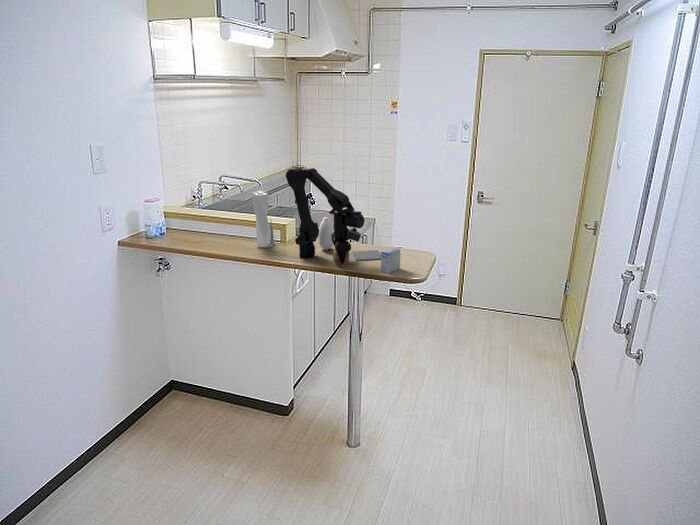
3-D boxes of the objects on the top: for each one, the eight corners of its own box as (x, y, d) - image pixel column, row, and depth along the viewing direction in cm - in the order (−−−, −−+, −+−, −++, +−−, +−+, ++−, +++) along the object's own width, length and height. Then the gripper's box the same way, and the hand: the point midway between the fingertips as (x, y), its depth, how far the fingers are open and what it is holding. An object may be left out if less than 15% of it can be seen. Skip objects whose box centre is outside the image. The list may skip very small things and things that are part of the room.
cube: (335, 266, 213) (334, 253, 211) (333, 261, 219) (333, 248, 217) (349, 265, 214) (348, 252, 212) (347, 261, 220) (346, 248, 218)
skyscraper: (271, 248, 238) (267, 190, 229) (254, 248, 238) (250, 190, 229) (274, 243, 246) (270, 186, 237) (258, 243, 246) (253, 186, 237)
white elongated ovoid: (333, 252, 231) (332, 214, 225) (316, 251, 233) (315, 213, 227) (336, 247, 238) (336, 210, 233) (320, 246, 240) (319, 209, 234)
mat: (356, 260, 219) (356, 259, 219) (352, 252, 231) (352, 251, 230) (383, 259, 221) (383, 258, 221) (377, 251, 232) (377, 249, 232)
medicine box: (391, 266, 212) (391, 246, 209) (400, 268, 209) (400, 248, 207) (380, 271, 206) (380, 251, 204) (389, 273, 204) (389, 253, 201)
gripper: (363, 229, 203) (363, 266, 208) (355, 218, 221) (356, 252, 226) (335, 231, 202) (336, 267, 207) (330, 219, 219) (331, 253, 224)
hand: (341, 260), depth 216 cm, fingers open, 9 cm apart
